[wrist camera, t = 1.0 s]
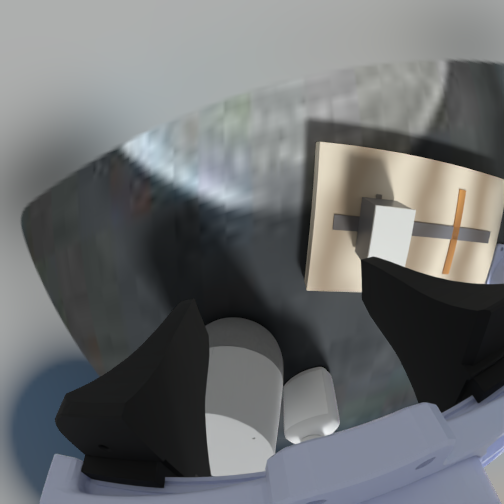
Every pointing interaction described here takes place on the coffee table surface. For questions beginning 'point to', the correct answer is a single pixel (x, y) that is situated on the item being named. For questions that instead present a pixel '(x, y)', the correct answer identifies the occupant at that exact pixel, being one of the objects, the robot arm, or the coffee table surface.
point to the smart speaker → (242, 396)
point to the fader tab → (384, 230)
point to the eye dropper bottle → (310, 406)
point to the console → (411, 195)
